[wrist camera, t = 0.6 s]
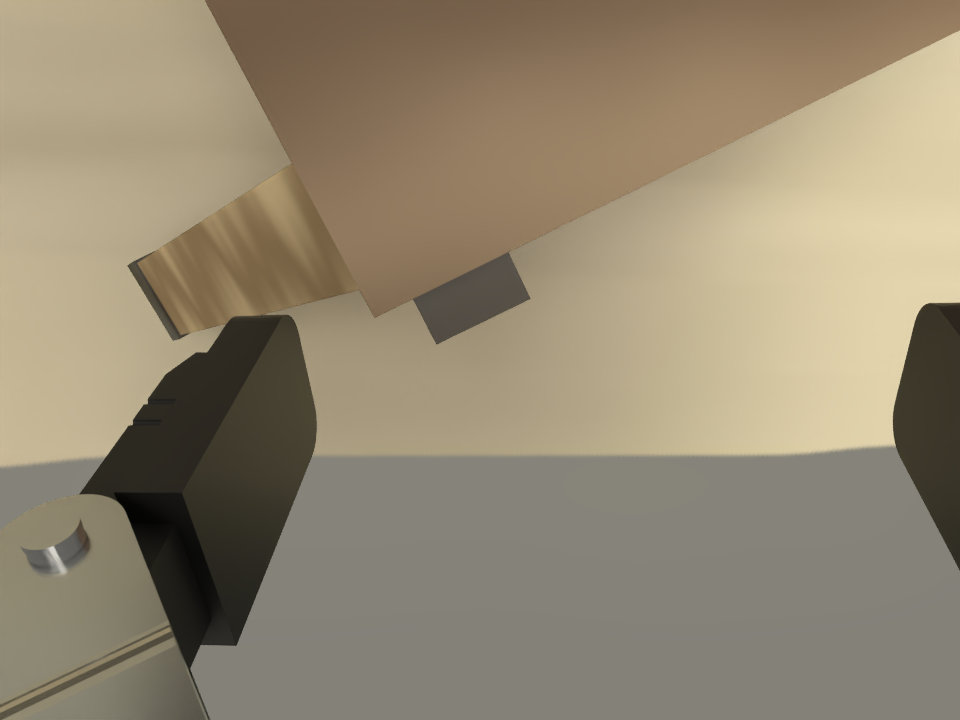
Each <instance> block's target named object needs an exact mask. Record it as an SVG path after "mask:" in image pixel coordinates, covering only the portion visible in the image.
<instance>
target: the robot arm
mask: <svg viewBox="0 0 960 720" xmlns="http://www.w3.org/2000/svg"><path fill="white" fill-rule="evenodd" d="M316 432H317V421H316V410H315V405H314V401H313V396H312V392H311V387H310V383H309V378H308V374H307V369H306V365H305V360H304V356H303V351H302V347H301V342H300V338H299V333H298V330H297V327H296V324H295V322H294V320H293V319H292V317H290V316H289V315H260V316H234V317H232V318H231V319H230V320H229V321H228V323H227V324H226V326H225V327H224V329H223V330H222V332H221V333H220V335H219V336H218V338H217V339H216V341H215V342H214V344H213V345H212V347H211V348H210V350H209V351H208V352H207V353H195V354H194V355H192V356H191V357H189V358H188V359H187V360H185V361H184V362H182V363H181V364H180V365H178V366H177V367H175V368H174V369H173V370H171V371H170V372H168V373H167V374H166V375H165V376H164V378H163V379H162V380H161V382H160V383H159V385H158V386H157V387H156V389H155V390H154V391H153V393H152V394H151V396H150V397H149V398H148V404H144V405H143V407H142V408H141V409H140V411H139V412H138V414H137V415H136V416H135V418H134V419H133V425H130V426H128V428H127V429H126V430H125V432H124V433H123V434H122V436H121V437H120V439H119V440H118V441H117V443H116V444H115V446H114V447H113V448H112V450H111V451H110V452H109V454H108V455H107V457H106V458H105V459H104V461H103V462H102V464H101V465H100V466H99V468H98V469H97V471H96V472H95V473H94V475H93V476H92V477H91V479H90V480H89V482H88V483H87V484H86V486H85V487H84V489H83V490H82V491H81V493H80V494H79V495H73V496H67V497H63V498H59V499H55V500H52V501H49V502H46V503H44V504H41V505H40V506H37V507H35V508H32V509H31V510H29V511H27V512H25V513H23V514H22V515H20V516H19V517H17V518H16V519H14V520H13V521H11V522H10V523H9V524H7V525H6V526H5V527H4V528H2V529H1V530H0V720H210V717H209V715H208V712H207V710H206V707H205V705H204V702H203V700H202V697H201V695H200V692H199V690H198V687H197V685H196V682H195V679H194V677H193V675H192V672H191V670H190V668H191V665H192V663H193V661H194V658H195V656H196V654H197V652H198V649H199V647H200V645H230V646H231V645H232V646H236V645H237V643H238V640H239V638H240V635H241V633H242V630H243V628H244V625H245V623H246V620H247V618H248V615H249V613H250V610H251V608H252V605H253V603H254V600H255V598H256V595H257V592H258V590H259V587H260V585H261V583H262V580H263V577H264V575H265V573H266V570H267V568H268V565H269V563H270V560H271V558H272V555H273V552H274V550H275V547H276V545H277V542H278V540H279V538H280V535H281V532H282V530H283V527H284V525H285V522H286V520H287V517H288V515H289V512H290V510H291V507H292V505H293V502H294V500H295V497H296V495H297V492H298V490H299V487H300V485H301V482H302V480H303V477H304V475H305V472H306V469H307V467H308V465H309V462H310V460H311V457H312V454H313V451H314V447H315V442H316ZM893 432H894V439H895V444H896V448H897V451H898V453H899V455H900V458H901V460H902V461H903V463H904V465H905V467H906V469H907V471H908V473H909V475H910V477H911V479H912V480H913V482H914V484H915V486H916V488H917V490H918V492H919V494H920V496H921V497H922V499H923V501H924V503H925V505H926V507H927V509H928V511H929V512H930V515H931V517H932V518H933V520H934V522H935V524H936V526H937V528H938V529H939V532H940V533H941V535H942V537H943V539H944V541H945V543H946V545H947V547H948V549H949V551H950V552H951V554H952V556H953V558H954V560H955V562H956V564H957V566H958V568H959V570H960V303H929V304H926V305H924V306H923V307H922V308H921V310H920V311H919V313H918V315H917V317H916V320H915V324H914V328H913V332H912V336H911V340H910V344H909V348H908V352H907V356H906V360H905V364H904V368H903V372H902V377H901V381H900V385H899V389H898V393H897V397H896V401H895V405H894V412H893Z"/></svg>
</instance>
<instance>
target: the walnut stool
mask: <svg viewBox="0 0 960 720" xmlns="http://www.w3.org/2000/svg"><path fill="white" fill-rule="evenodd" d="M205 1H206V3H207V5H208V7H209V9H210V11H211V12H212V14H213V16H214V18H215V20H216V22H217V24H218V26H219V27H220V29H221V31H222V33H223V35H224V37H225V39H226V41H227V42H228V44H229V46H230V48H231V50H232V52H233V54H234V56H235V57H236V59H237V61H238V63H239V65H240V67H241V69H242V71H243V72H244V74H245V76H246V78H247V80H248V82H249V84H250V86H251V87H252V89H253V91H254V93H255V95H256V97H257V99H258V101H259V102H260V104H261V106H262V108H263V110H264V112H265V114H266V116H267V117H268V119H269V121H270V123H271V125H272V127H273V129H274V131H275V132H276V134H277V136H278V138H279V140H280V142H281V144H282V146H283V147H284V149H285V151H286V153H287V155H288V157H289V159H290V160H291V162H292V164H293V166H294V168H295V170H296V172H297V174H298V175H299V177H300V179H301V181H302V183H303V185H304V187H305V189H306V190H307V192H308V194H309V196H310V198H311V200H312V202H313V204H314V205H315V207H316V209H317V211H318V213H319V215H320V217H321V219H322V220H323V222H324V224H325V226H326V228H327V230H328V232H329V234H330V235H331V237H332V239H333V241H334V243H335V245H336V247H337V249H338V250H339V252H340V254H341V256H342V258H343V260H344V262H345V264H346V265H347V267H348V269H349V271H350V273H351V275H352V277H353V279H354V280H355V282H356V284H357V286H358V288H359V290H360V292H361V294H362V295H363V297H364V299H365V301H366V303H367V305H368V307H369V309H370V310H371V312H372V314H373V316H374V318H375V317H377V316H379V315H381V314H383V313H385V312H387V311H389V310H392V309H394V308H396V307H398V306H400V305H402V304H404V303H406V302H408V301H410V300H412V299H413V300H414V302H415V304H416V306H417V308H418V310H419V311H420V313H421V315H422V317H423V319H424V321H425V323H426V325H427V327H428V329H429V331H430V333H431V335H432V337H433V339H434V340H435V342H436V344H439V343H441V342H443V341H445V340H447V339H449V338H451V337H453V336H455V335H457V334H459V333H461V332H463V331H465V330H467V329H469V328H471V327H473V326H476V325H478V324H480V323H482V322H484V321H486V320H488V319H490V318H492V317H494V316H496V315H498V314H500V313H502V312H504V311H506V310H508V309H510V308H513V307H515V306H517V305H519V304H521V303H523V302H525V301H527V300H529V299H530V297H529V295H528V293H527V291H526V289H525V286H524V284H523V282H522V280H521V278H520V276H519V274H518V272H517V270H516V268H515V265H514V263H513V261H512V259H511V257H510V255H509V253H508V252H509V251H512V250H514V249H516V248H518V247H520V246H522V245H524V244H526V243H528V242H530V241H532V240H534V239H536V238H538V237H540V236H542V235H544V234H546V233H548V232H550V231H552V230H554V229H556V228H558V227H560V226H562V225H564V224H566V223H568V222H571V221H573V220H575V219H577V218H579V217H581V216H583V215H585V214H587V213H589V212H591V211H593V210H595V209H597V208H599V207H601V206H603V205H605V204H607V203H609V202H611V201H613V200H615V199H617V198H619V197H621V196H623V195H625V194H627V193H629V192H632V191H634V190H636V189H638V188H640V187H642V186H644V185H646V184H648V183H650V182H652V181H654V180H656V179H658V178H660V177H662V176H664V175H666V174H668V173H670V172H672V171H674V170H676V169H678V168H680V167H682V166H684V165H686V164H688V163H691V162H693V161H695V160H697V159H699V158H701V157H703V156H705V155H707V154H709V153H711V152H713V151H715V150H717V149H719V148H721V147H723V146H725V145H727V144H729V143H731V142H733V141H735V140H737V139H739V138H741V137H743V136H745V135H747V134H750V133H752V132H754V131H756V130H758V129H760V128H762V127H764V126H766V125H768V124H770V123H772V122H774V121H776V120H778V119H780V118H782V117H784V116H786V115H788V114H790V113H792V112H794V111H796V110H798V109H800V108H802V107H804V106H806V105H809V104H811V103H813V102H815V101H817V100H819V99H821V98H823V97H825V96H827V95H829V94H831V93H833V92H835V91H837V90H839V89H841V88H843V87H845V86H847V85H849V84H851V83H853V82H855V81H857V80H859V79H861V78H863V77H865V76H867V75H870V74H872V73H874V72H876V71H878V70H880V69H882V68H884V67H886V66H888V65H890V64H892V63H894V62H896V61H898V60H900V59H902V58H904V57H906V56H908V55H910V54H912V53H914V52H916V51H918V50H920V49H922V48H924V47H926V46H929V45H931V44H933V43H935V42H937V41H939V40H941V39H943V38H945V37H947V36H949V35H951V34H953V33H955V32H957V31H959V30H960V0H205Z"/></svg>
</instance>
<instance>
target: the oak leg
mask: <svg viewBox="0 0 960 720" xmlns="http://www.w3.org/2000/svg"><path fill="white" fill-rule="evenodd" d="M127 266H128V267H129V269H130V271H131V272H132V274H133V276H134V277H135V279H136V280H137V282H138V284H139V285H140V287H141V289H142V290H143V292H144V294H145V295H146V297H147V299H148V300H149V302H150V303H151V305H152V307H153V308H154V310H155V312H156V313H157V315H158V317H159V318H160V320H161V322H162V323H163V325H164V326H165V328H166V330H167V331H168V333H169V335H170V336H171V338H172V340H177V339H180V338H182V337H184V336H186V335H188V334H189V333H191V332H195V331H199V330H203V329H207V328H211V327H215V326H219V325H223V324H227V323H228V321H229V320H230V319H231V318H232V317H234V316H258V315H262V314H266V313H270V312H274V311H278V310H282V309H286V308H290V307H294V306H298V305H301V304H305V303H309V302H313V301H317V300H321V299H325V298H329V297H333V296H337V295H341V294H345V293H349V292H353V291H357V290H359V288H358V286H357V284H356V282H355V280H354V279H353V277H352V275H351V273H350V271H349V269H348V267H347V265H346V264H345V262H344V260H343V258H342V256H341V254H340V252H339V250H338V249H337V247H336V245H335V243H334V241H333V239H332V237H331V235H330V234H329V232H328V230H327V228H326V226H325V224H324V222H323V220H322V219H321V217H320V215H319V213H318V211H317V209H316V207H315V205H314V204H313V202H312V200H311V198H310V196H309V194H308V192H307V190H306V189H305V187H304V185H303V183H302V181H301V179H300V177H299V175H298V174H297V172H296V170H295V168H294V166H293V164H290V165H289V166H287V167H286V168H284V169H283V170H281V171H279V172H278V173H276V174H275V175H273V176H272V177H270V178H269V179H267V180H265V181H264V182H262V183H261V184H259V185H258V186H256V187H255V188H253V189H251V190H250V191H248V192H247V193H245V194H244V195H242V196H241V197H239V198H237V199H236V200H234V201H233V202H231V203H230V204H228V205H227V206H225V207H223V208H222V209H220V210H219V211H217V212H216V213H214V214H213V215H211V216H209V217H208V218H206V219H205V220H203V221H202V222H200V223H199V224H197V225H195V226H194V227H192V228H191V229H189V230H188V231H186V232H185V233H183V234H181V235H180V236H178V237H177V238H175V239H174V240H172V241H171V242H169V243H167V244H166V245H164V246H163V247H161V248H160V249H158V250H156V251H154V252H152V253H150V254H148V255H146V256H144V257H142V258H140V259H138V260H136V261H134V262H132V263H130V264H129V265H127Z"/></svg>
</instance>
